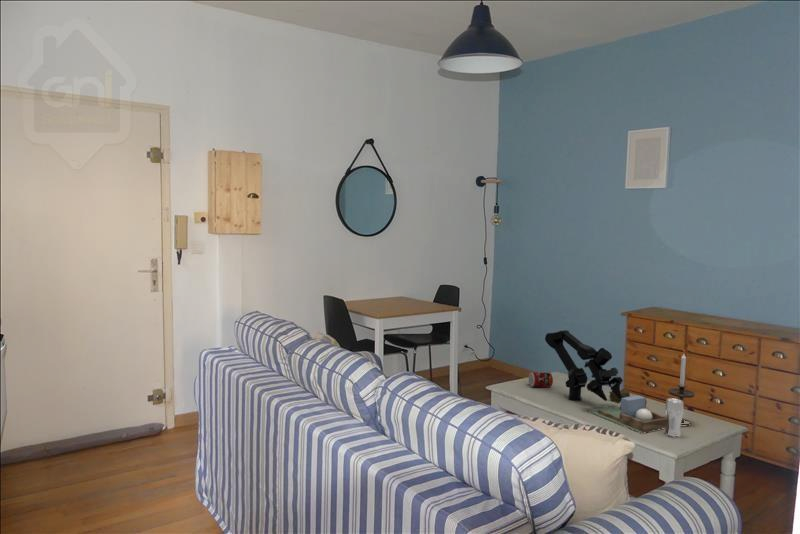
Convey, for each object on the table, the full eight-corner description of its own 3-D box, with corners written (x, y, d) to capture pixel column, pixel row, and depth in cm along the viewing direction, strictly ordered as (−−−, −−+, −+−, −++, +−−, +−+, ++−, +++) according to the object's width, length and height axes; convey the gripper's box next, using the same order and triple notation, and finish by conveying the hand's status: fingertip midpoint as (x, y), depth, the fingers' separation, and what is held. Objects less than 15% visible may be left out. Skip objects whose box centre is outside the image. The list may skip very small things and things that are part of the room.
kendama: (638, 410, 286) (602, 398, 302) (649, 407, 291) (614, 396, 308) (639, 398, 285) (603, 387, 301) (650, 396, 291) (615, 385, 307)
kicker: (620, 419, 267) (621, 398, 266) (637, 416, 272) (638, 395, 271) (627, 422, 264) (628, 400, 263) (644, 419, 269) (645, 397, 268)
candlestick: (661, 421, 268) (666, 346, 265) (673, 417, 275) (678, 343, 272) (685, 428, 260) (690, 350, 257) (697, 424, 266) (702, 347, 263)
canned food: (553, 386, 317) (533, 386, 315) (548, 387, 324) (529, 387, 323) (552, 371, 319) (532, 371, 317) (547, 373, 326) (527, 373, 325)
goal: (587, 411, 280) (587, 402, 279) (615, 406, 289) (616, 397, 288) (641, 433, 252) (642, 423, 252) (671, 427, 261) (672, 417, 260)
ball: (646, 404, 261) (655, 418, 257) (647, 408, 267) (655, 422, 263) (631, 411, 262) (640, 425, 258) (632, 414, 268) (641, 429, 264)
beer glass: (660, 432, 255) (662, 398, 254) (676, 432, 255) (678, 398, 254) (669, 437, 248) (671, 403, 247) (685, 437, 248) (687, 403, 247)
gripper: (592, 363, 277) (609, 393, 268) (621, 360, 285) (638, 388, 276) (579, 375, 284) (595, 404, 275) (607, 372, 293) (623, 400, 284)
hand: (613, 399), depth 278 cm, fingers open, 9 cm apart
